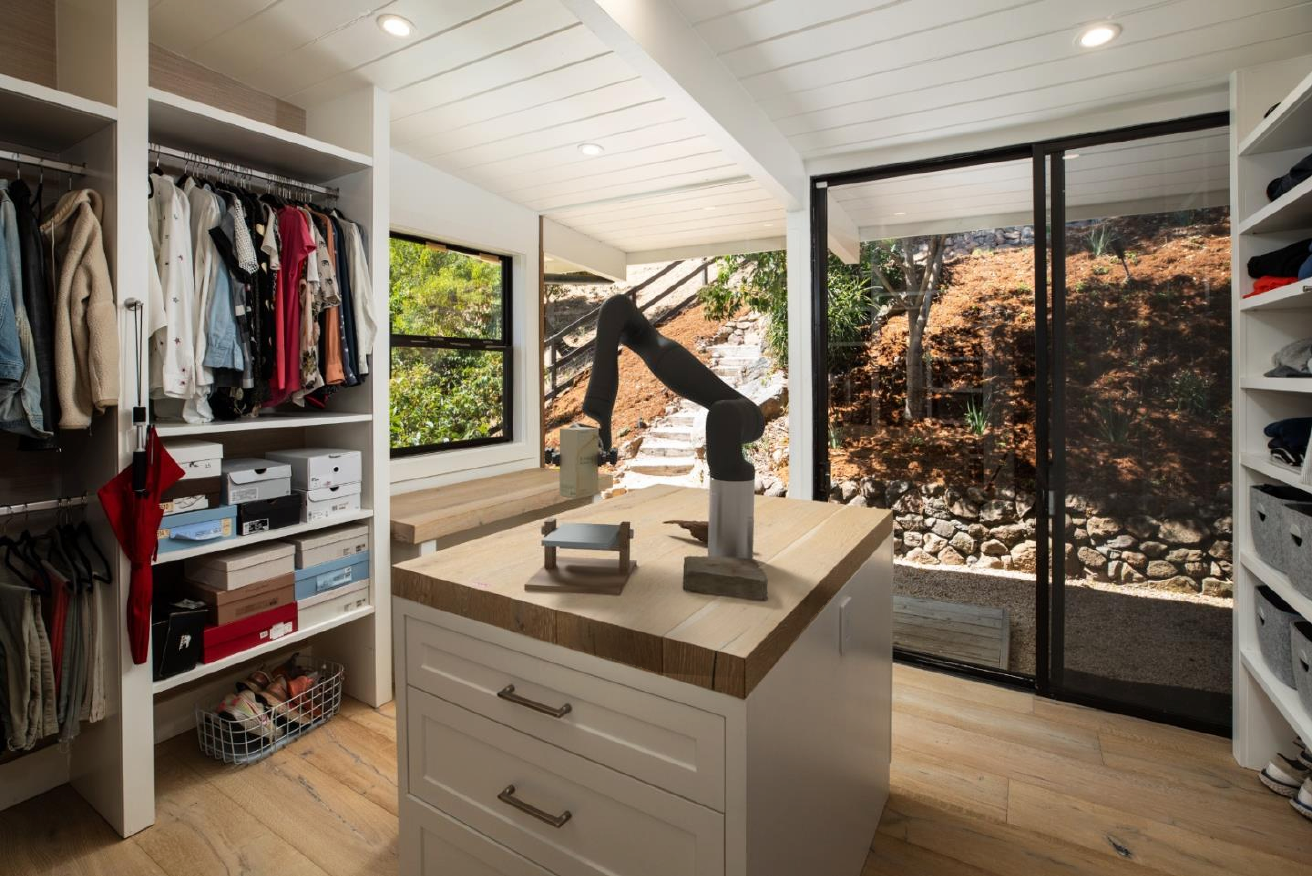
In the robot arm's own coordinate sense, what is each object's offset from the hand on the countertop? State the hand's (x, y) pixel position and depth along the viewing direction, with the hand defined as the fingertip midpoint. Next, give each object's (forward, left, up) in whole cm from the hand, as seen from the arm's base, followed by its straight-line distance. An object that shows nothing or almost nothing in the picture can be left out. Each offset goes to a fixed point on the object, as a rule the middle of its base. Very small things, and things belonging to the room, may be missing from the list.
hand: (578, 460), depth 119 cm
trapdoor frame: (0, -6, -23) cm, 23 cm away
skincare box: (0, -2, -7) cm, 7 cm away
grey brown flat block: (-26, -5, -23) cm, 35 cm away
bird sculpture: (-21, -37, -23) cm, 49 cm away
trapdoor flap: (0, -6, -19) cm, 20 cm away
